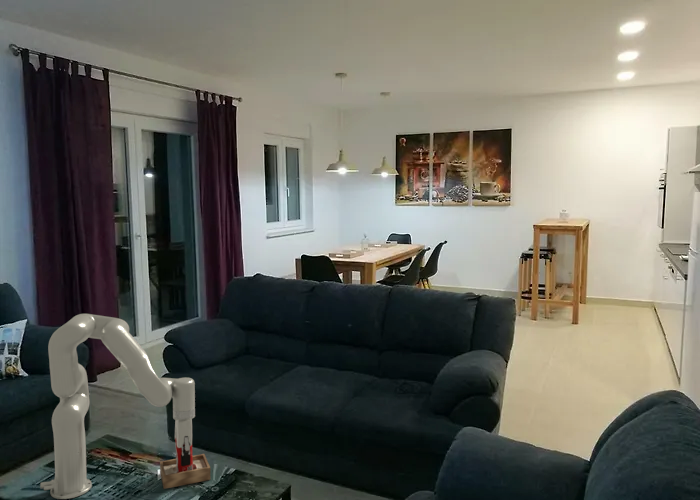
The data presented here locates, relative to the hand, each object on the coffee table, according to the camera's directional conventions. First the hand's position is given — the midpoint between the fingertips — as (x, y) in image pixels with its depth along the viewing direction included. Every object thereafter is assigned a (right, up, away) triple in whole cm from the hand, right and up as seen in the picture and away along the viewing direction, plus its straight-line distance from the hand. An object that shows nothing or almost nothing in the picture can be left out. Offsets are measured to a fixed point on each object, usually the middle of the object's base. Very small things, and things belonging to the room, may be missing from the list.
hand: (184, 460), depth 195 cm
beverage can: (0, -5, +1) cm, 5 cm away
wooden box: (0, -6, +1) cm, 6 cm away
